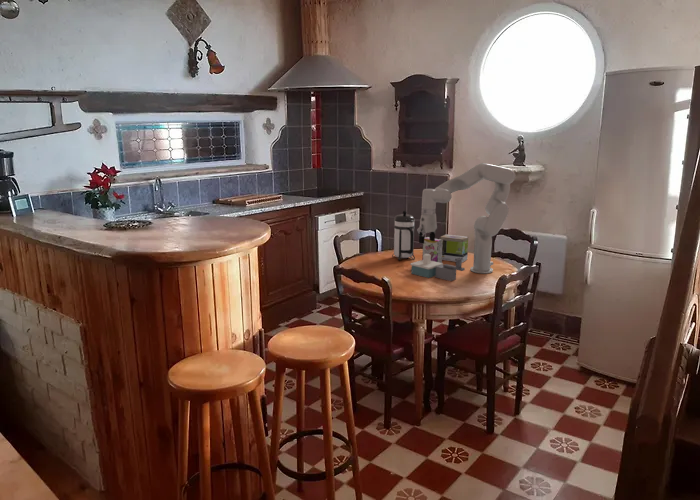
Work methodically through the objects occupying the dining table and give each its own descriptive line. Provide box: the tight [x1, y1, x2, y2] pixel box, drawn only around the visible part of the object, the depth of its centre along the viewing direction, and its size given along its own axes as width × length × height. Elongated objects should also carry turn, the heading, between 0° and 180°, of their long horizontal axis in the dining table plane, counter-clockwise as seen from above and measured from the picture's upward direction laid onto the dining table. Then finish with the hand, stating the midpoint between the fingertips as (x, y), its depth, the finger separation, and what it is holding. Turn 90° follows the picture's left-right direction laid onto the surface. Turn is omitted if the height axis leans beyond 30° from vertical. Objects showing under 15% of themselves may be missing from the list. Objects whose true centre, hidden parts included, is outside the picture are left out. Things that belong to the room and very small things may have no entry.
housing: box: [410, 264, 457, 282], centre depth 304 cm, size 12×24×6 cm, turn 46°
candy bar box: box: [421, 236, 443, 263], centre depth 323 cm, size 11×5×16 cm, turn 47°
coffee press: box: [391, 210, 416, 262], centre depth 338 cm, size 17×16×30 cm
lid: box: [410, 254, 444, 269], centre depth 307 cm, size 13×13×6 cm
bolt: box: [443, 257, 466, 272], centre depth 294 cm, size 5×12×6 cm, turn 46°
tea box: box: [439, 234, 469, 263], centre depth 337 cm, size 15×10×15 cm, turn 58°
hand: (426, 241), depth 304 cm, fingers open, 9 cm apart
